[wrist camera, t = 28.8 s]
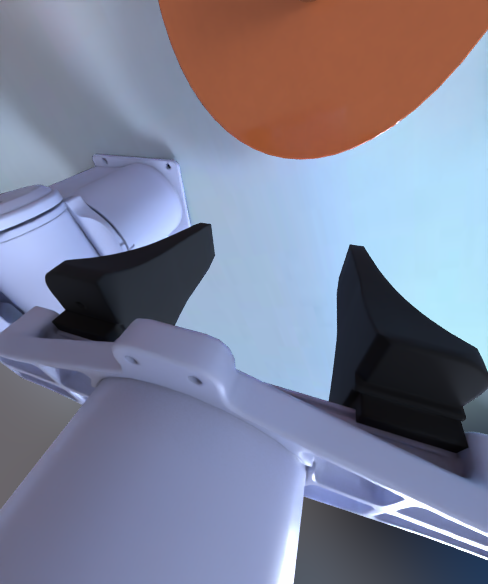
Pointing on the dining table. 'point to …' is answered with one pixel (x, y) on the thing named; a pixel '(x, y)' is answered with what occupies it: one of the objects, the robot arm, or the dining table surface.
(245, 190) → the dining table surface
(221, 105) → the lid
